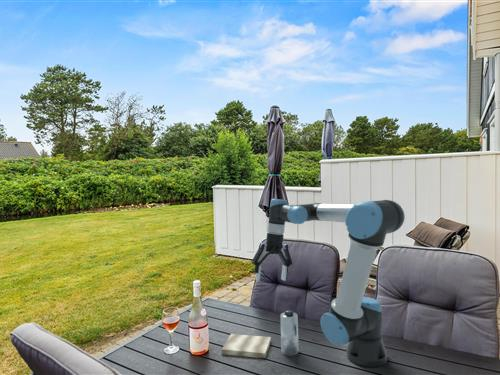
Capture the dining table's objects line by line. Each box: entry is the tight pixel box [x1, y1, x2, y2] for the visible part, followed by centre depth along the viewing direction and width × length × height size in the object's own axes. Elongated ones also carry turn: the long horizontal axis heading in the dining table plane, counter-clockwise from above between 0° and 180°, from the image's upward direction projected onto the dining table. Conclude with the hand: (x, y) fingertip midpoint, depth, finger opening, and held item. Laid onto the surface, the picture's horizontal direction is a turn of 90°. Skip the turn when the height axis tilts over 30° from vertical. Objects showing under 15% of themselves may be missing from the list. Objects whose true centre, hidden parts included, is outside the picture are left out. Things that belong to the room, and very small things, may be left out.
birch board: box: [221, 333, 272, 359], centre depth 144 cm, size 18×14×2 cm
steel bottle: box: [279, 309, 300, 357], centre depth 140 cm, size 7×7×17 cm
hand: (270, 280), depth 154 cm, fingers open, 13 cm apart
